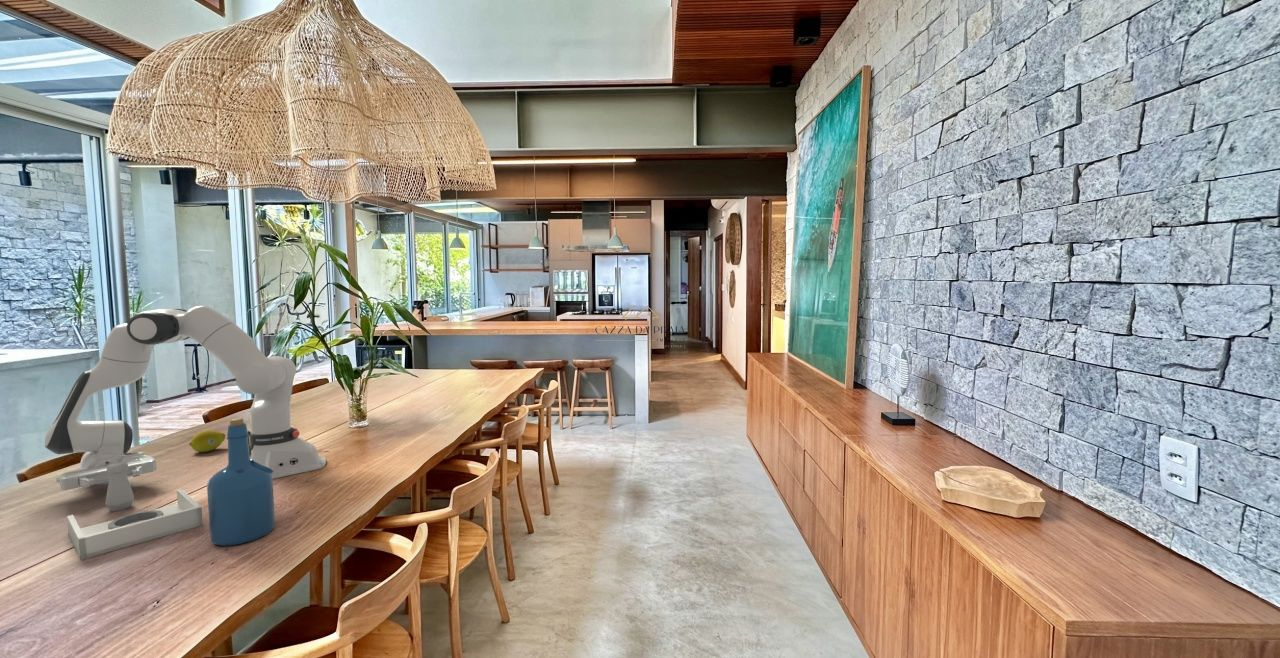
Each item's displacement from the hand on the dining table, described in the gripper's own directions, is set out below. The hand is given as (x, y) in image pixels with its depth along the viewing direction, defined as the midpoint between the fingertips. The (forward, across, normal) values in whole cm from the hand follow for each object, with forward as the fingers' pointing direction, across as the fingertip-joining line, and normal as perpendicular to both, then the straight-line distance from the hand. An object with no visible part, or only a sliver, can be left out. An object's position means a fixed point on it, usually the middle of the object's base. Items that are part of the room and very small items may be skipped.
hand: (114, 478), depth 150 cm
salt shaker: (+8, 0, +7) cm, 10 cm away
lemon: (-38, +30, +7) cm, 49 cm away
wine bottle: (+55, +16, +7) cm, 58 cm away
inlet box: (+30, 0, +7) cm, 31 cm away
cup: (-22, +39, +7) cm, 45 cm away
